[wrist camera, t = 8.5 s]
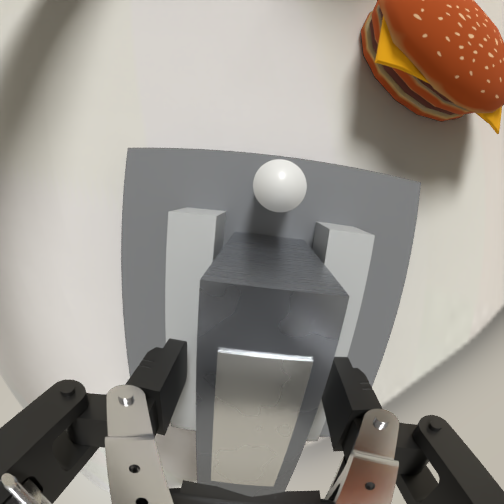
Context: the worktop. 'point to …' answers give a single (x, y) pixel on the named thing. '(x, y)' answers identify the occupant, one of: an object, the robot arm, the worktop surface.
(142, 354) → the dock
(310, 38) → the worktop surface
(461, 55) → the hamburger
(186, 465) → the worktop surface
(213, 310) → the block
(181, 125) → the worktop surface
